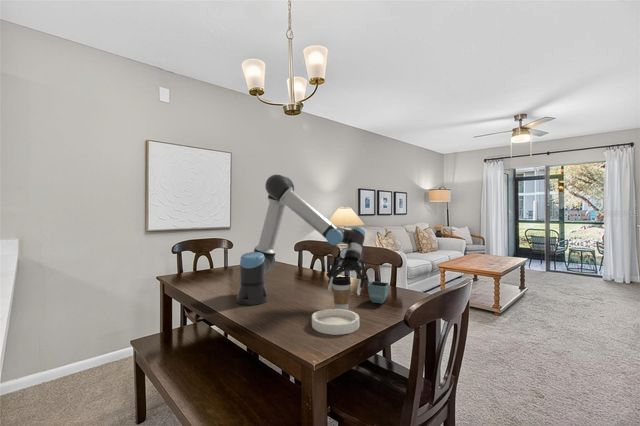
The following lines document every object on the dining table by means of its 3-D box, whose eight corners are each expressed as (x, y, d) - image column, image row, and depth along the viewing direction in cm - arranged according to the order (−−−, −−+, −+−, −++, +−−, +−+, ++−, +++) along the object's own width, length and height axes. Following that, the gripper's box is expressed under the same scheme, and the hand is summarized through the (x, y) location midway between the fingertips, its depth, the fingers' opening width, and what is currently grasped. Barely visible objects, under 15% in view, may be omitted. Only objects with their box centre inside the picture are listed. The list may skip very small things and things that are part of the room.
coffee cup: (345, 315, 133) (345, 280, 133) (328, 311, 138) (328, 278, 138) (354, 309, 141) (354, 276, 140) (337, 306, 145) (337, 274, 145)
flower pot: (389, 300, 154) (389, 282, 154) (385, 305, 146) (385, 286, 146) (372, 298, 158) (372, 281, 158) (367, 303, 150) (367, 284, 150)
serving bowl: (325, 338, 109) (325, 328, 109) (304, 321, 126) (304, 312, 126) (368, 329, 118) (368, 320, 118) (343, 314, 134) (343, 306, 134)
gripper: (379, 260, 150) (372, 299, 137) (331, 257, 160) (320, 293, 147) (376, 250, 145) (369, 290, 132) (327, 248, 155) (315, 284, 142)
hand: (343, 292), depth 139 cm, fingers open, 13 cm apart
